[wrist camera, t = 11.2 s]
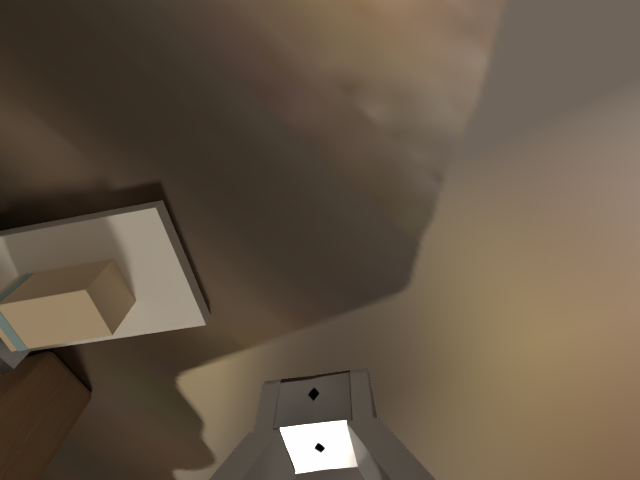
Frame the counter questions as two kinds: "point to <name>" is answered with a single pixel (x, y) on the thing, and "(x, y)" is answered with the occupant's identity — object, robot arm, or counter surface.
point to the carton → (64, 305)
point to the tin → (10, 357)
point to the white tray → (130, 255)
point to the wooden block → (37, 414)
